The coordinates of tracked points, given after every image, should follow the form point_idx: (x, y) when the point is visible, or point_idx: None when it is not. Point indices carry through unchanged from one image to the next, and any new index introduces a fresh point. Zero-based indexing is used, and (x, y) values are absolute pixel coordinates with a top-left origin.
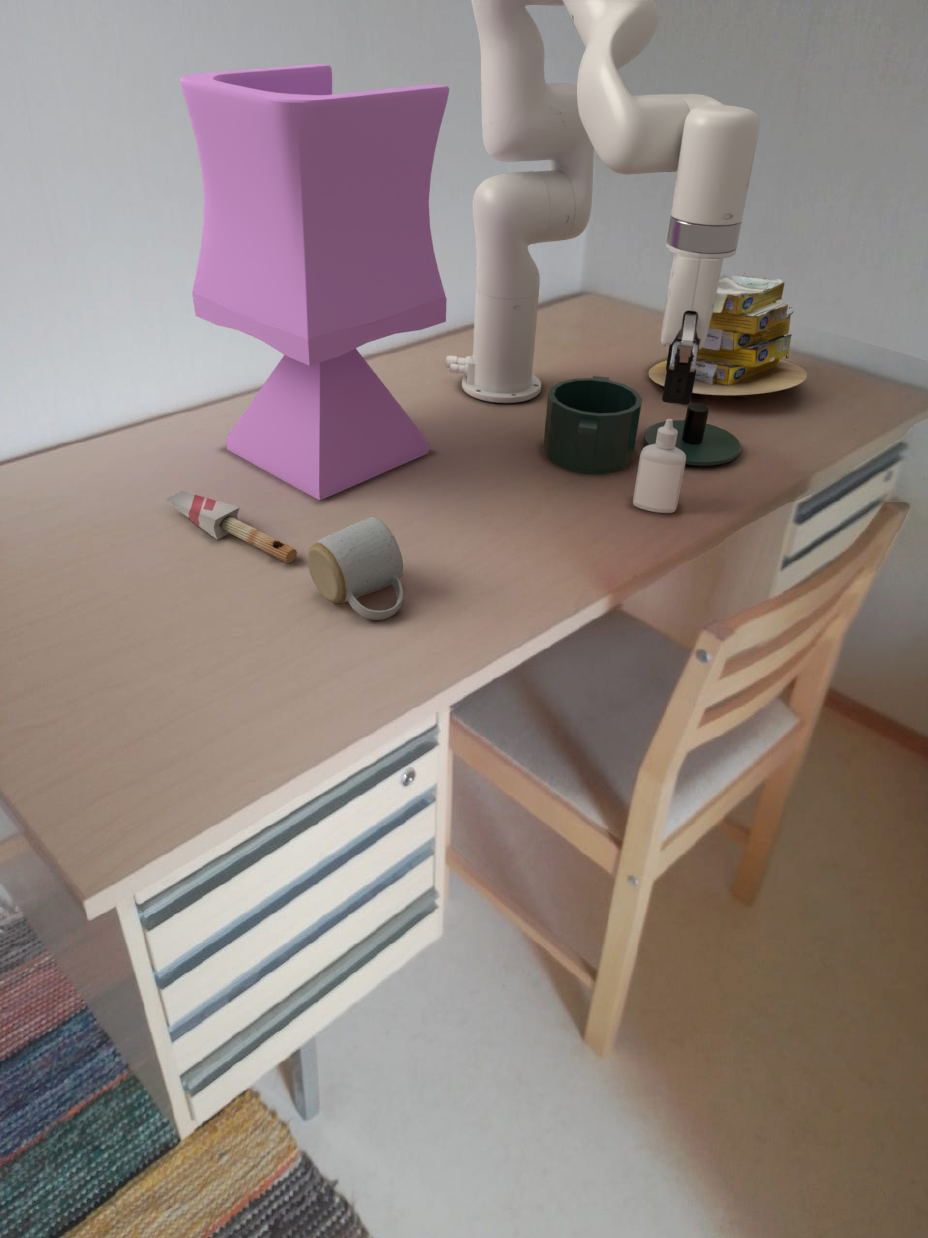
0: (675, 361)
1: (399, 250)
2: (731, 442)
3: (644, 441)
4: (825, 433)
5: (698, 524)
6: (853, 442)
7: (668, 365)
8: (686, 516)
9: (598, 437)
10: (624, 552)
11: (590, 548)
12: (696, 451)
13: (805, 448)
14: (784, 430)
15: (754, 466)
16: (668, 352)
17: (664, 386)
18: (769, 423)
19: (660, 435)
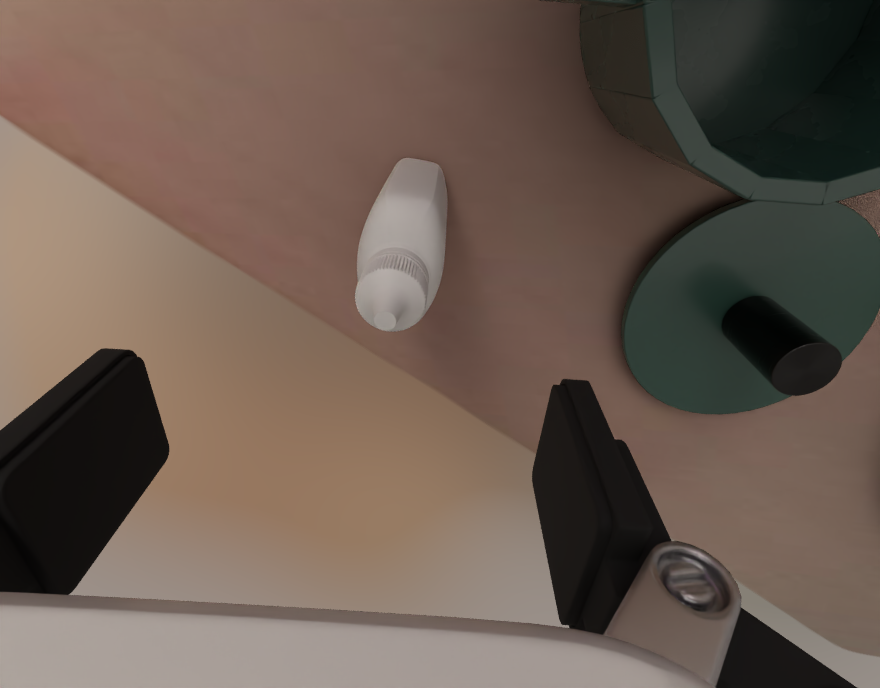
0: (556, 452)
1: None
2: (726, 399)
3: None
4: (776, 540)
5: None
6: (732, 567)
7: (560, 404)
8: None
9: (611, 20)
10: (169, 135)
11: (144, 38)
12: (681, 325)
13: (713, 506)
14: (801, 486)
15: (636, 423)
16: (591, 448)
17: (48, 394)
18: (842, 467)
19: (367, 272)
